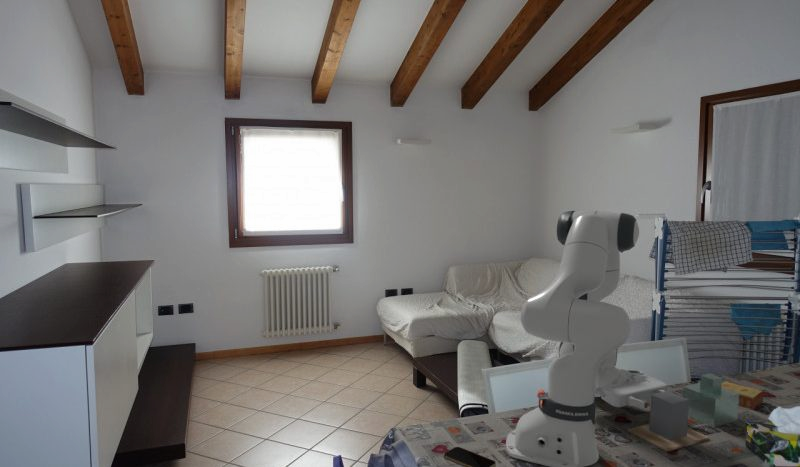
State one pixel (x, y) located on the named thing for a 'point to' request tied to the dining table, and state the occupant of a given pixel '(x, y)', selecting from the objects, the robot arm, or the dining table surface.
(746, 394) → the carton
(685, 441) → the mat
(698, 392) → the grey-green block
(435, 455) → the dining table surface
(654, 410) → the grey rectangular block
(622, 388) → the robot arm
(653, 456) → the dining table surface
